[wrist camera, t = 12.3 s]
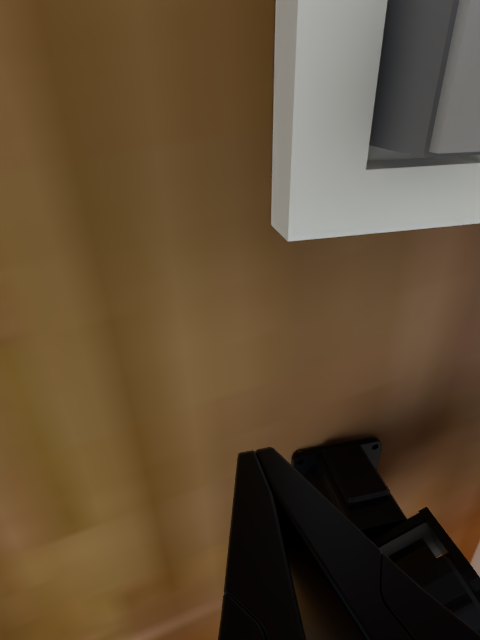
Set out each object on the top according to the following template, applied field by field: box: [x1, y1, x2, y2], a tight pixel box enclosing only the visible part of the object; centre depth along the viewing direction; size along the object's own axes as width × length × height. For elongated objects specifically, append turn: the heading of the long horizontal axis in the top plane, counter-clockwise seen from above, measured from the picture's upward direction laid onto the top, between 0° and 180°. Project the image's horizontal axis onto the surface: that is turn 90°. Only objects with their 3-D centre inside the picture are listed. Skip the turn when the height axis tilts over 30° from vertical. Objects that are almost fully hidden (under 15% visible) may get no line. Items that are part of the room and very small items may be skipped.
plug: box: [369, 0, 480, 158], centre depth 15 cm, size 5×4×5 cm
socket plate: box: [271, 0, 480, 241], centre depth 17 cm, size 12×12×2 cm
